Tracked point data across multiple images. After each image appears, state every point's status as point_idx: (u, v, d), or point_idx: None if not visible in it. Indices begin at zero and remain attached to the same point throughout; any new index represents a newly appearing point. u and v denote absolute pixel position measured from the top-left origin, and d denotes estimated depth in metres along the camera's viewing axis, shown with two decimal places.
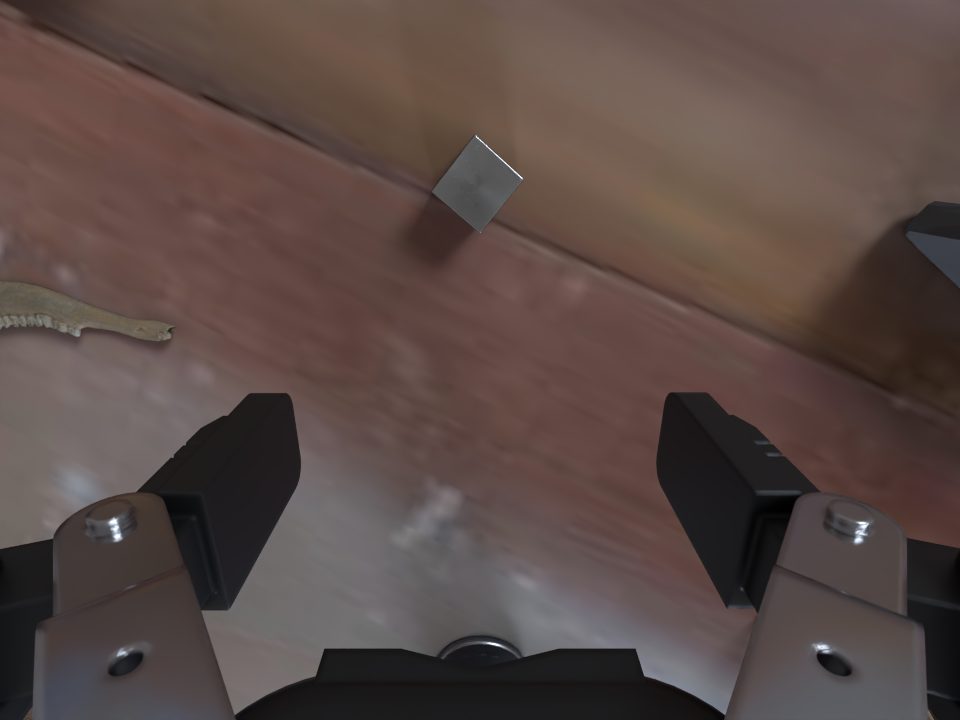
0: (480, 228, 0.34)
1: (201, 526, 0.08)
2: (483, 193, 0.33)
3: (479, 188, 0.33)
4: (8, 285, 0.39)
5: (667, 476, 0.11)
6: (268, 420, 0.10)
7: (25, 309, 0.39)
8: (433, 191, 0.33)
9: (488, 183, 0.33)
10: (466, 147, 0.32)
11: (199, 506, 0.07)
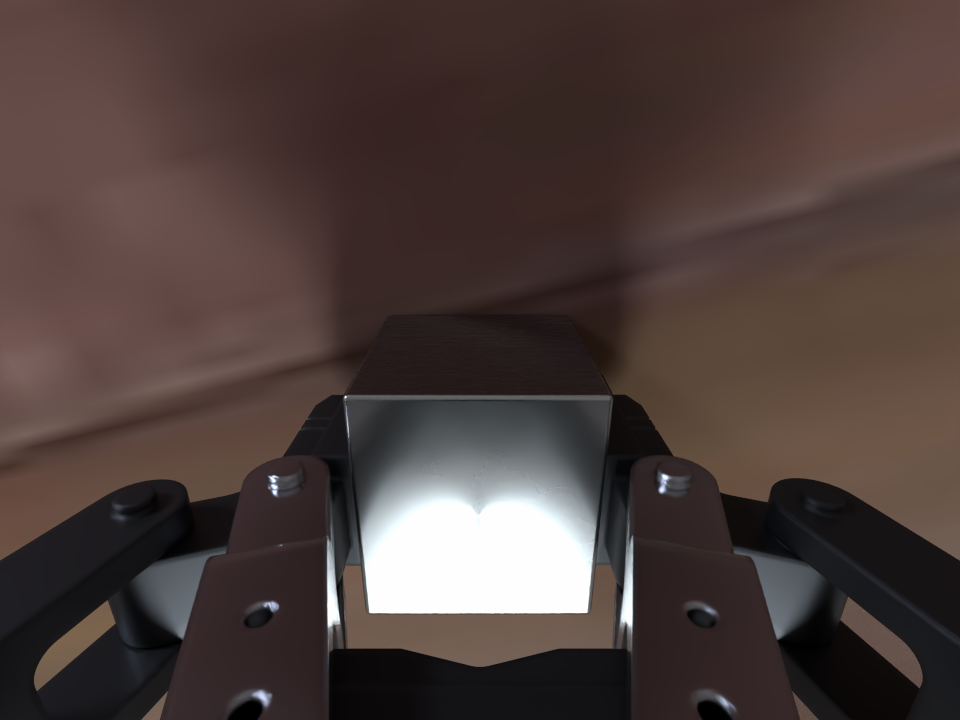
0: (353, 412, 0.08)
1: (348, 487, 0.08)
2: (439, 509, 0.09)
3: (463, 513, 0.09)
4: None
5: None
6: None
7: None
8: (605, 402, 0.08)
9: (451, 542, 0.09)
10: (590, 575, 0.09)
11: (348, 469, 0.08)
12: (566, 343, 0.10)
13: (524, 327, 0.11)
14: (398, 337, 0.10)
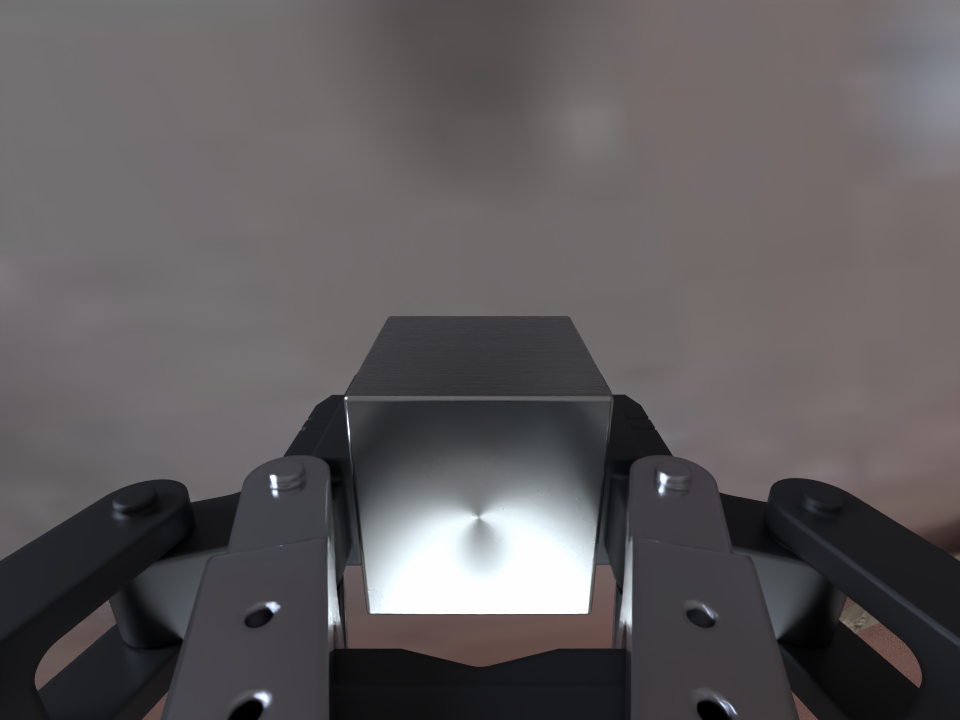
0: (354, 412, 0.08)
1: (349, 486, 0.08)
2: (440, 510, 0.09)
3: (464, 513, 0.09)
4: None
5: None
6: None
7: None
8: (606, 403, 0.08)
9: (452, 543, 0.09)
10: (590, 575, 0.09)
11: (349, 468, 0.08)
12: (567, 344, 0.10)
13: (524, 327, 0.11)
14: (399, 337, 0.10)
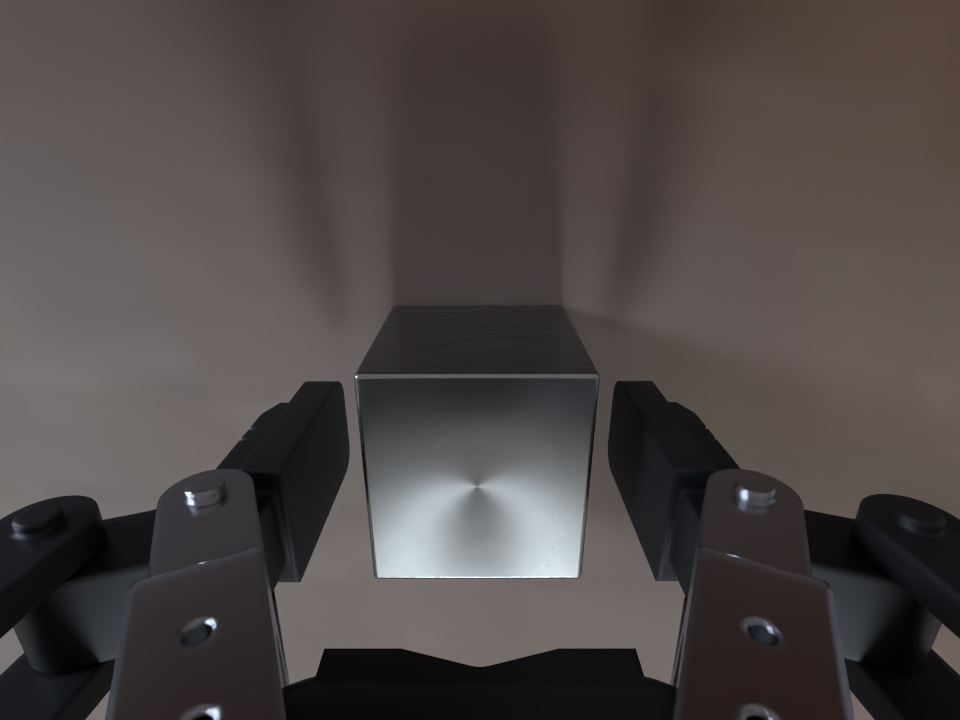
0: (364, 389, 0.09)
1: (280, 501, 0.08)
2: (442, 480, 0.09)
3: (463, 483, 0.09)
4: None
5: (615, 461, 0.11)
6: (326, 406, 0.10)
7: None
8: (592, 380, 0.09)
9: (452, 510, 0.10)
10: (580, 541, 0.10)
11: (279, 482, 0.08)
12: (558, 330, 0.11)
13: (520, 316, 0.12)
14: (403, 324, 0.11)
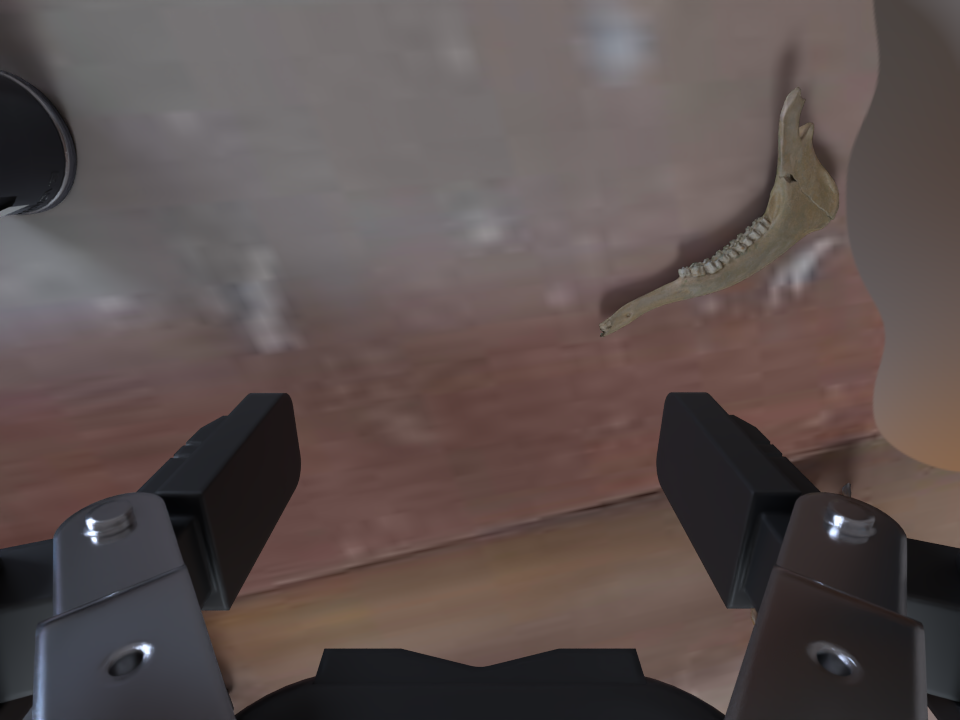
0: None
1: (201, 526, 0.08)
2: None
3: None
4: (755, 271, 0.39)
5: (667, 476, 0.11)
6: (268, 420, 0.10)
7: (733, 266, 0.38)
8: None
9: None
10: None
11: (199, 506, 0.07)
12: None
13: None
14: None
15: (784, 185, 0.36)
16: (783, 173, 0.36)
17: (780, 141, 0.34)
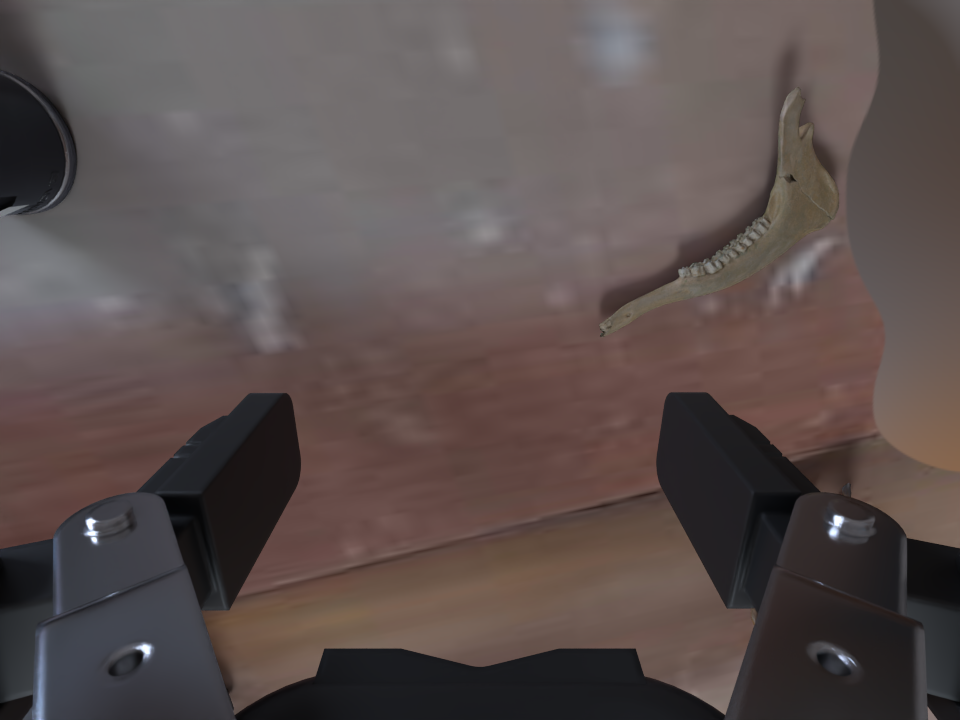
0: None
1: (201, 526, 0.08)
2: None
3: None
4: (755, 271, 0.39)
5: (667, 476, 0.11)
6: (268, 420, 0.10)
7: (733, 266, 0.38)
8: None
9: None
10: None
11: (199, 506, 0.07)
12: None
13: None
14: None
15: (784, 185, 0.36)
16: (783, 173, 0.36)
17: (780, 141, 0.34)
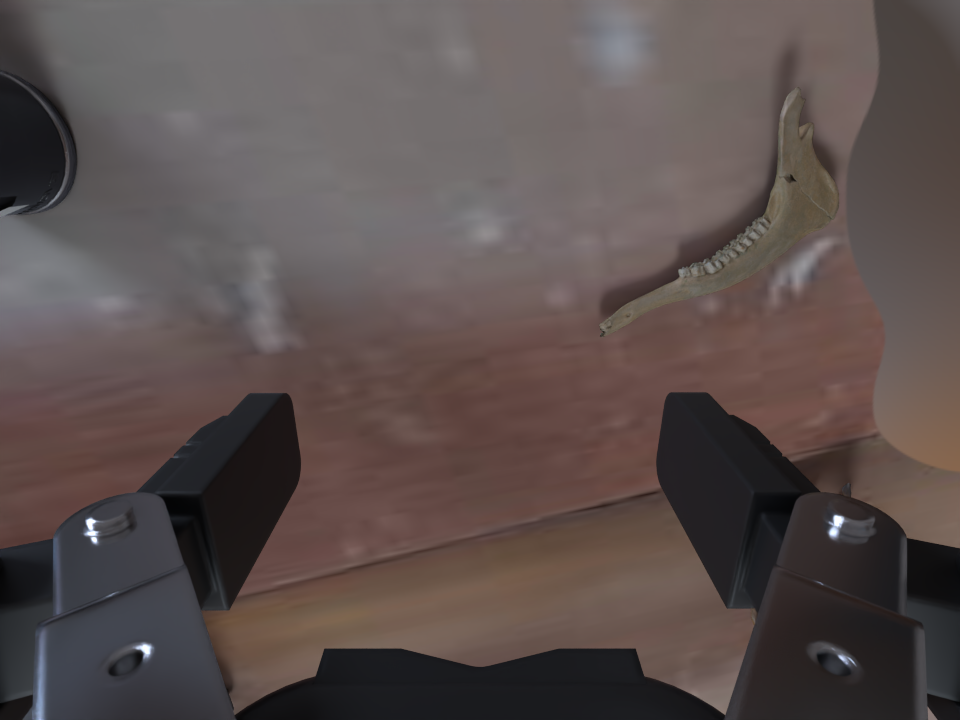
0: None
1: (201, 526, 0.08)
2: None
3: None
4: (755, 271, 0.39)
5: (667, 476, 0.11)
6: (268, 420, 0.10)
7: (733, 266, 0.38)
8: None
9: None
10: None
11: (199, 506, 0.07)
12: None
13: None
14: None
15: (784, 185, 0.36)
16: (783, 173, 0.36)
17: (780, 141, 0.34)
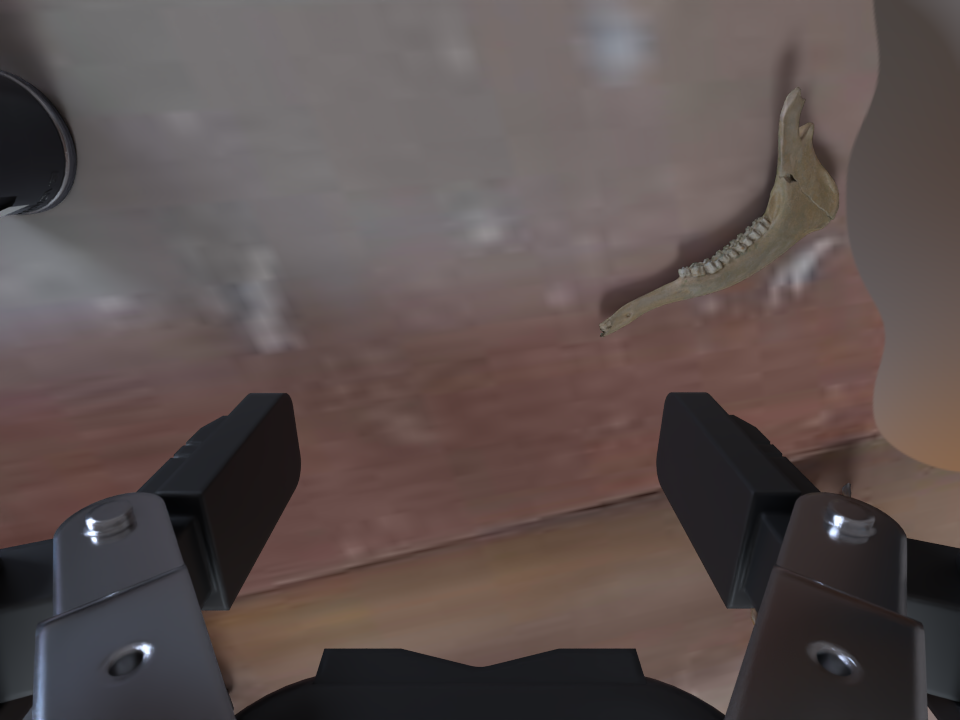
0: None
1: (201, 526, 0.08)
2: None
3: None
4: (755, 271, 0.39)
5: (667, 476, 0.11)
6: (268, 420, 0.10)
7: (733, 266, 0.38)
8: None
9: None
10: None
11: (199, 506, 0.07)
12: None
13: None
14: None
15: (784, 185, 0.36)
16: (783, 173, 0.36)
17: (780, 141, 0.34)
